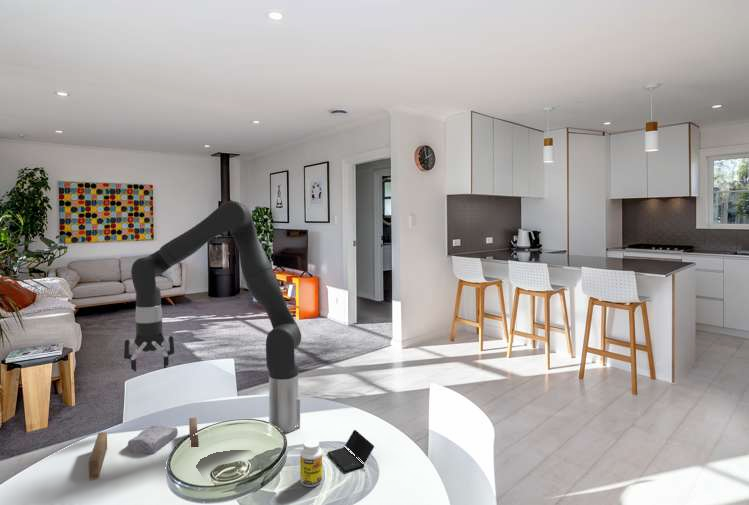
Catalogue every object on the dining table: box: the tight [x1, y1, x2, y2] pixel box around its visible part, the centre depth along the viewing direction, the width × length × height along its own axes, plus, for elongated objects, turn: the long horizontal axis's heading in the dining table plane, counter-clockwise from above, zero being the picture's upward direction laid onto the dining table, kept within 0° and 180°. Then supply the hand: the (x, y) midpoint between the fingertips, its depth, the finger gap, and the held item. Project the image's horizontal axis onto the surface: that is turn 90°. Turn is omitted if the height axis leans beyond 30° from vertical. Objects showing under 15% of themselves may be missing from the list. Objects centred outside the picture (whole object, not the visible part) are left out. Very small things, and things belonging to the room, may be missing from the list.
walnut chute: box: [88, 417, 200, 481], centre depth 126 cm, size 26×16×5 cm, turn 114°
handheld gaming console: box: [327, 429, 375, 474], centre depth 125 cm, size 12×7×10 cm
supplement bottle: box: [299, 439, 323, 488], centre depth 114 cm, size 6×6×10 cm
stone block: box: [127, 423, 179, 455], centre depth 132 cm, size 12×5×10 cm
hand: (150, 368), depth 143 cm, fingers open, 8 cm apart
